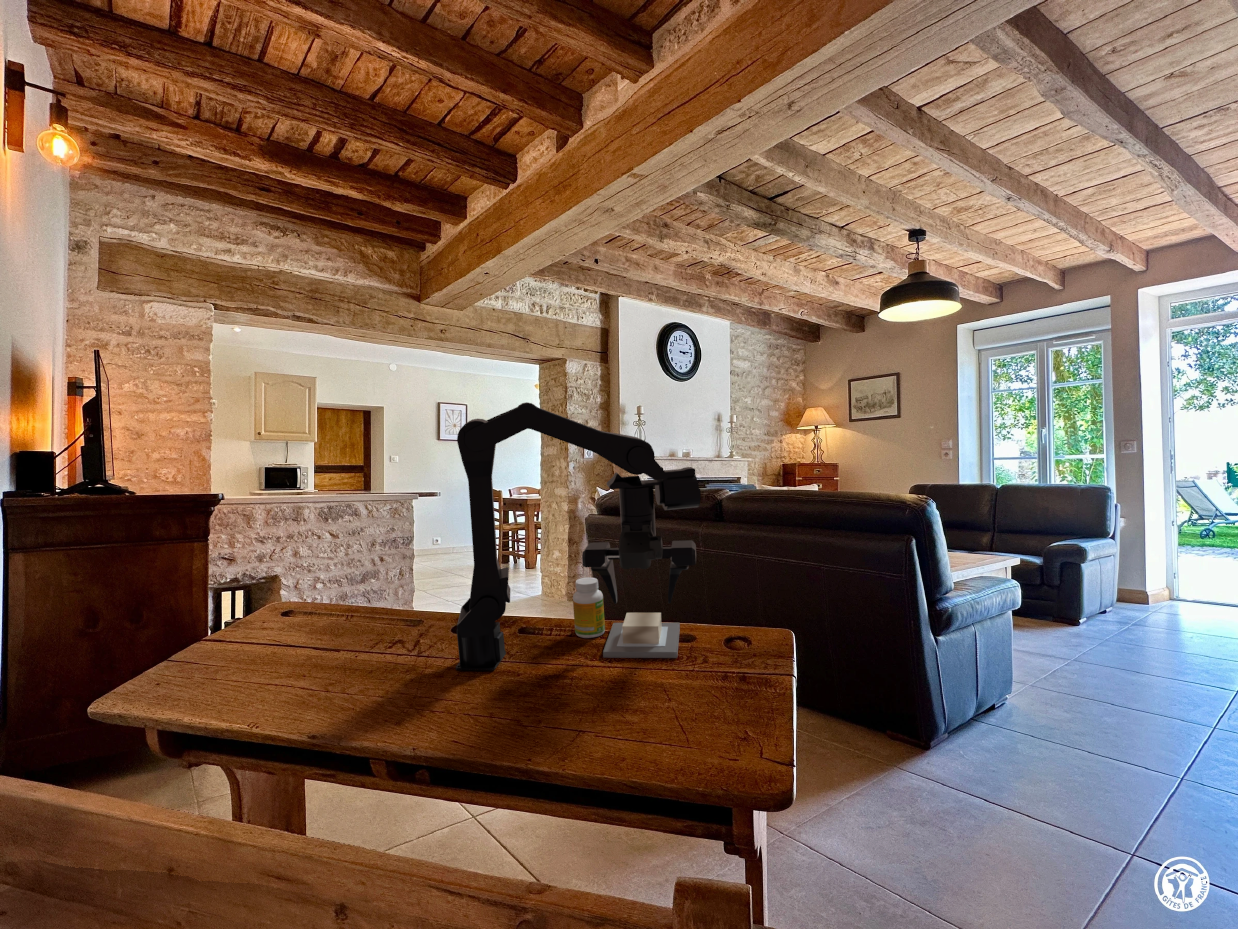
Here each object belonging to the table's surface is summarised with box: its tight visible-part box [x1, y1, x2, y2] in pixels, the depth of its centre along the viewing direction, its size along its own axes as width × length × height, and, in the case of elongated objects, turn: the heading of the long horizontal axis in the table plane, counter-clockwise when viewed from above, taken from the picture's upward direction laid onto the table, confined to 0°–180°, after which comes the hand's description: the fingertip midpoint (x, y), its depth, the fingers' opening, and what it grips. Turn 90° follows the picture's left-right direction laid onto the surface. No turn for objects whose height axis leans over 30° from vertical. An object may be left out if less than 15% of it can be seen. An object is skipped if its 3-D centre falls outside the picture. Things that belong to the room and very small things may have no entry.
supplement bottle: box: [572, 576, 606, 639], centre depth 112 cm, size 5×5×10 cm
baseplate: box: [602, 622, 681, 659], centre depth 107 cm, size 12×12×1 cm
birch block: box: [622, 612, 662, 644], centre depth 106 cm, size 6×6×3 cm
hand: (642, 602), depth 106 cm, fingers open, 9 cm apart
